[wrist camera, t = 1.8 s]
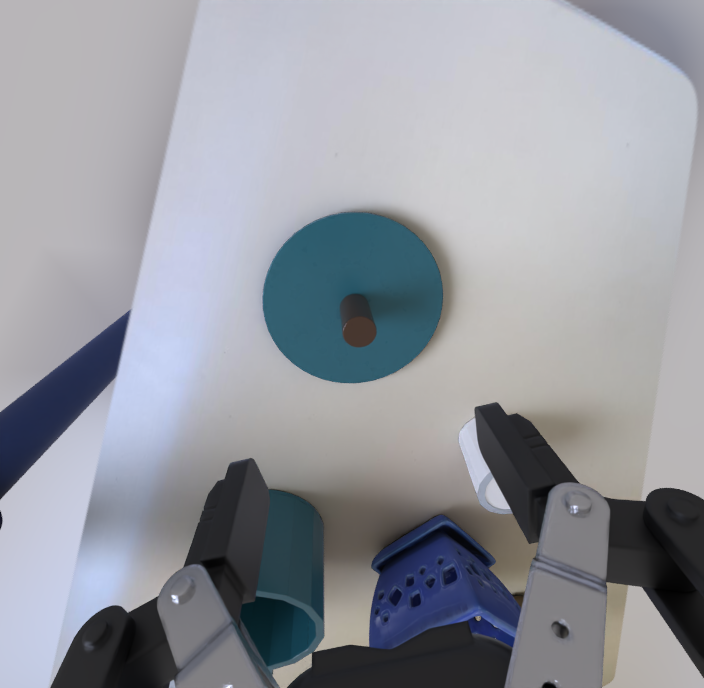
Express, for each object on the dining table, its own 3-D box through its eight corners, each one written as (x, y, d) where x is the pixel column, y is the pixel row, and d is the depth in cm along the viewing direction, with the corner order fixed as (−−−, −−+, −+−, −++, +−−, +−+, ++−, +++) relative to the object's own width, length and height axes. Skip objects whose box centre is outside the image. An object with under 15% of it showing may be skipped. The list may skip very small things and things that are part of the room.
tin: (218, 583, 46) (192, 690, 37) (189, 474, 38) (146, 577, 28) (325, 575, 47) (326, 678, 38) (321, 467, 39) (321, 565, 29)
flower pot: (442, 494, 42) (483, 608, 31) (500, 545, 47) (552, 657, 36) (355, 549, 45) (365, 668, 35) (418, 590, 50) (444, 706, 40)
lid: (272, 379, 33) (263, 420, 28) (254, 210, 27) (238, 223, 22) (429, 374, 34) (449, 413, 29) (450, 210, 28) (479, 222, 22)
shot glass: (517, 402, 37) (557, 452, 30) (516, 452, 40) (552, 507, 34) (449, 416, 37) (475, 469, 31) (454, 465, 40) (479, 521, 34)
